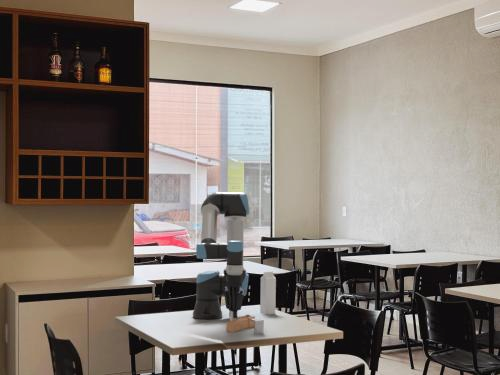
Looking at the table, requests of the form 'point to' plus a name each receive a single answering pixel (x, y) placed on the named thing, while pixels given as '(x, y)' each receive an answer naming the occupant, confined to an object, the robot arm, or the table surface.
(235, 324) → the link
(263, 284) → the milk
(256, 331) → the cylinder
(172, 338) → the table surface
